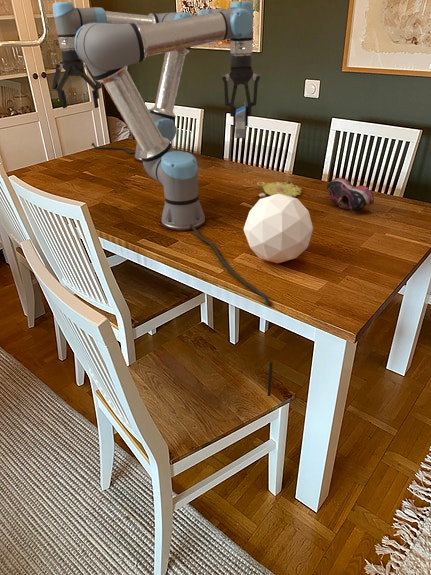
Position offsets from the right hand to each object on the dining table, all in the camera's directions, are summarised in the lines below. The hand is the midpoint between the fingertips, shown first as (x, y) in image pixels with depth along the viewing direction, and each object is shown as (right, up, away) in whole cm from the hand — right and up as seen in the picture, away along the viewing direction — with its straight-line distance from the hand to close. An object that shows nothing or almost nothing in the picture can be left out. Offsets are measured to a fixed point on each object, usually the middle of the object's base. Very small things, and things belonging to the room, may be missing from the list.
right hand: (240, 125), depth 164 cm
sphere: (+9, -51, -32) cm, 61 cm away
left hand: (-65, +14, +19) cm, 69 cm away
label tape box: (0, -3, +2) cm, 4 cm away
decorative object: (+16, -21, +15) cm, 31 cm away
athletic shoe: (+38, -30, +1) cm, 48 cm away
